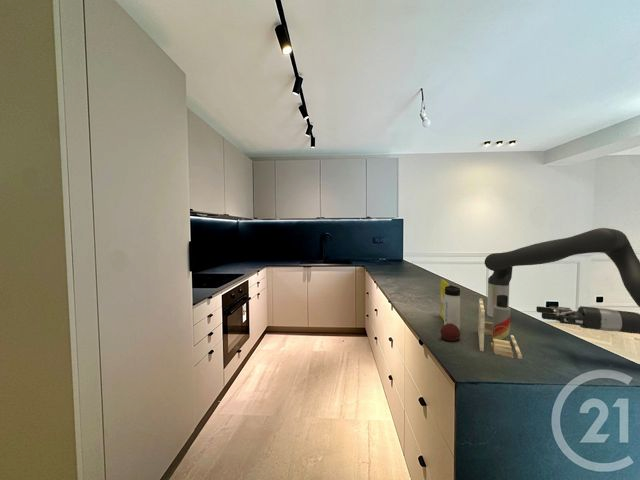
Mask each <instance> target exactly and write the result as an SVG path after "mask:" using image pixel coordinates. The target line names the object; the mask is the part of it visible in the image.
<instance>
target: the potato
mask: <svg viewBox="0 0 640 480" xmlns="http://www.w3.org/2000/svg"><path fill="white" fill-rule="evenodd" d="M440 336H441V337H442V339H444V340H445V341H448V342H457V341H458V340H459V339H460V338H461V331H460V328H459V329H458V327H457V326H456V325H454V324H452V323H448V324H445V325H444V324H443V326H441V328H440Z"/></svg>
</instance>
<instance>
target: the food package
mask: <svg viewBox="0 0 640 480" xmlns="http://www.w3.org/2000/svg"><path fill="white" fill-rule="evenodd" d="M449 285H450V284H449V283H448V282H447V281H446V280H444V279H442V278H440V302H439V303H440V309H439V315H440V317H441V319H442V321H444V304H445V287H447V286H449Z"/></svg>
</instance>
